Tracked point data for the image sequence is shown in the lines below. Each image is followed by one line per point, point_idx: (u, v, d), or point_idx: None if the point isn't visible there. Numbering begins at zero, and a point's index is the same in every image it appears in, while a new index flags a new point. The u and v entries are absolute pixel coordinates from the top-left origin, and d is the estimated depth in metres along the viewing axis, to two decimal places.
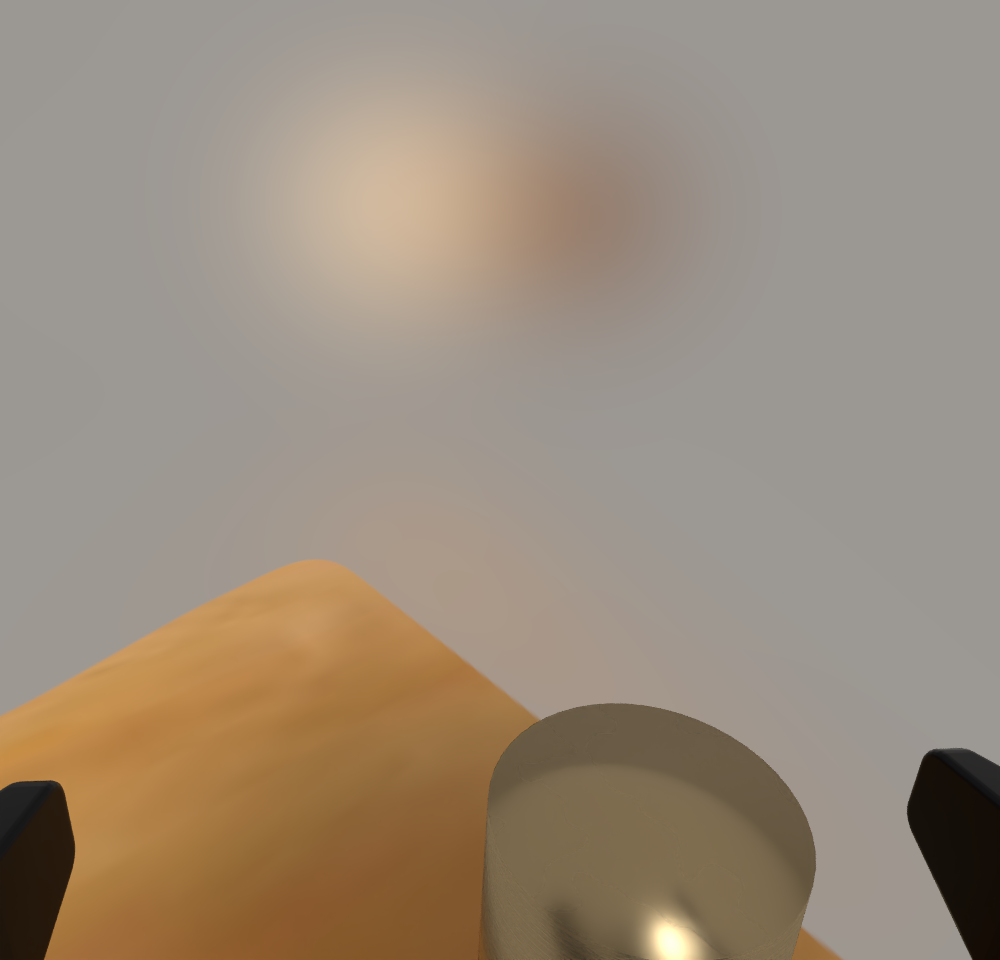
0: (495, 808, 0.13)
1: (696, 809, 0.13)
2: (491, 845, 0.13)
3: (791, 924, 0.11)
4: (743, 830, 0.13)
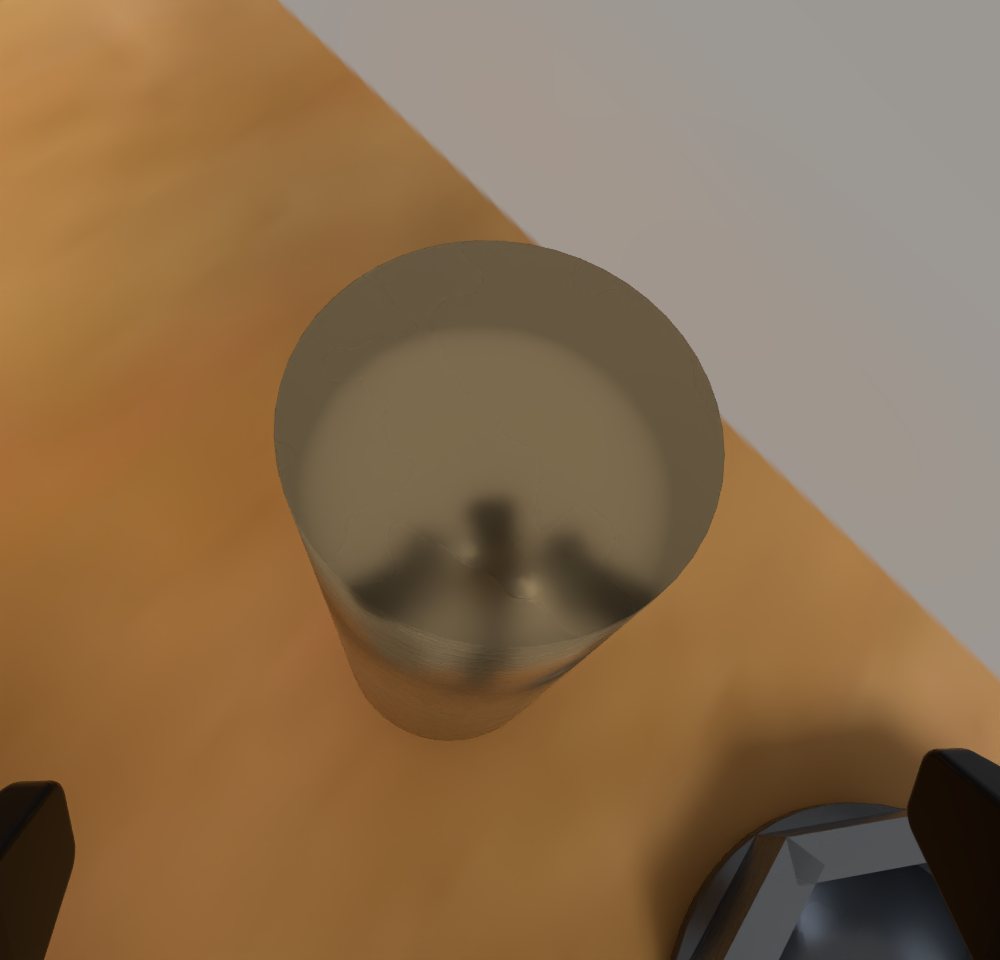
0: (284, 427, 0.09)
1: (576, 420, 0.10)
2: None
3: (667, 586, 0.09)
4: (632, 452, 0.09)
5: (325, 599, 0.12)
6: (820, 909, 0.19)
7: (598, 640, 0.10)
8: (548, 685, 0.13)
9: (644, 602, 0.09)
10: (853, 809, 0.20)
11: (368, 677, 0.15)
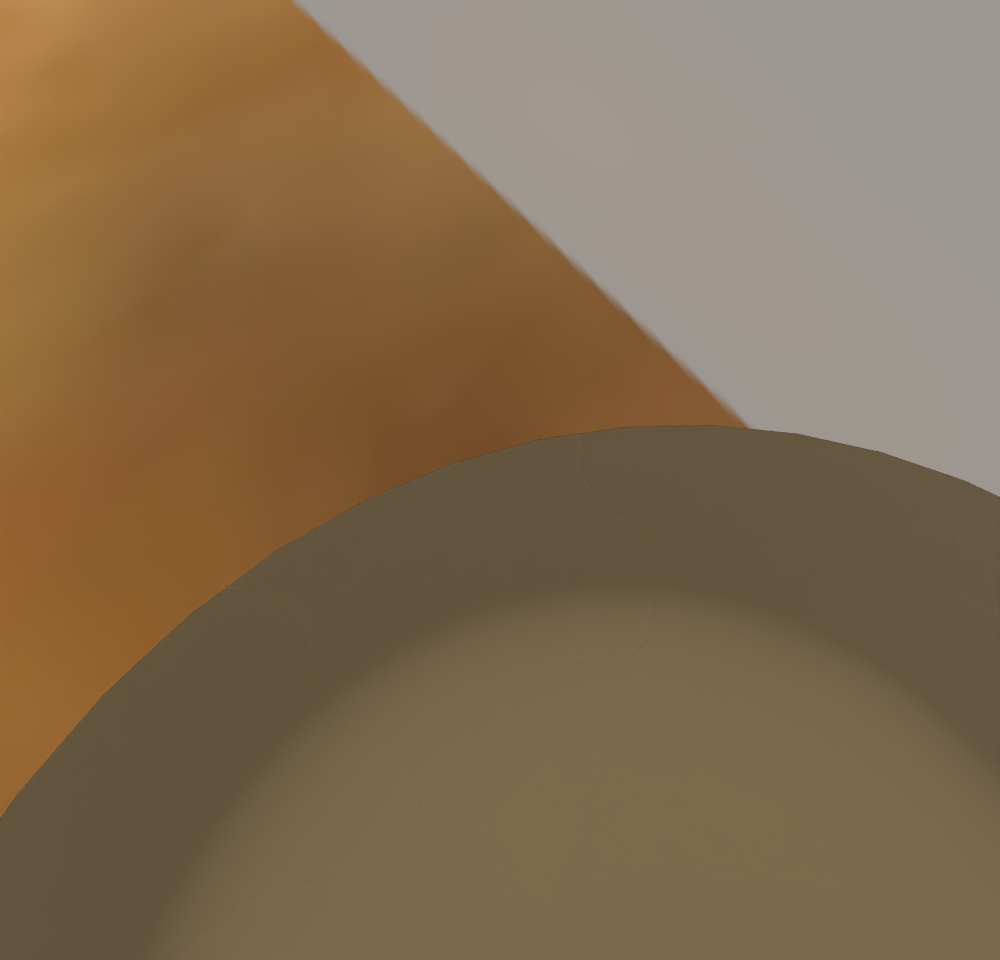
0: None
1: None
2: None
3: None
4: None
5: None
6: None
7: None
8: None
9: None
10: None
11: None
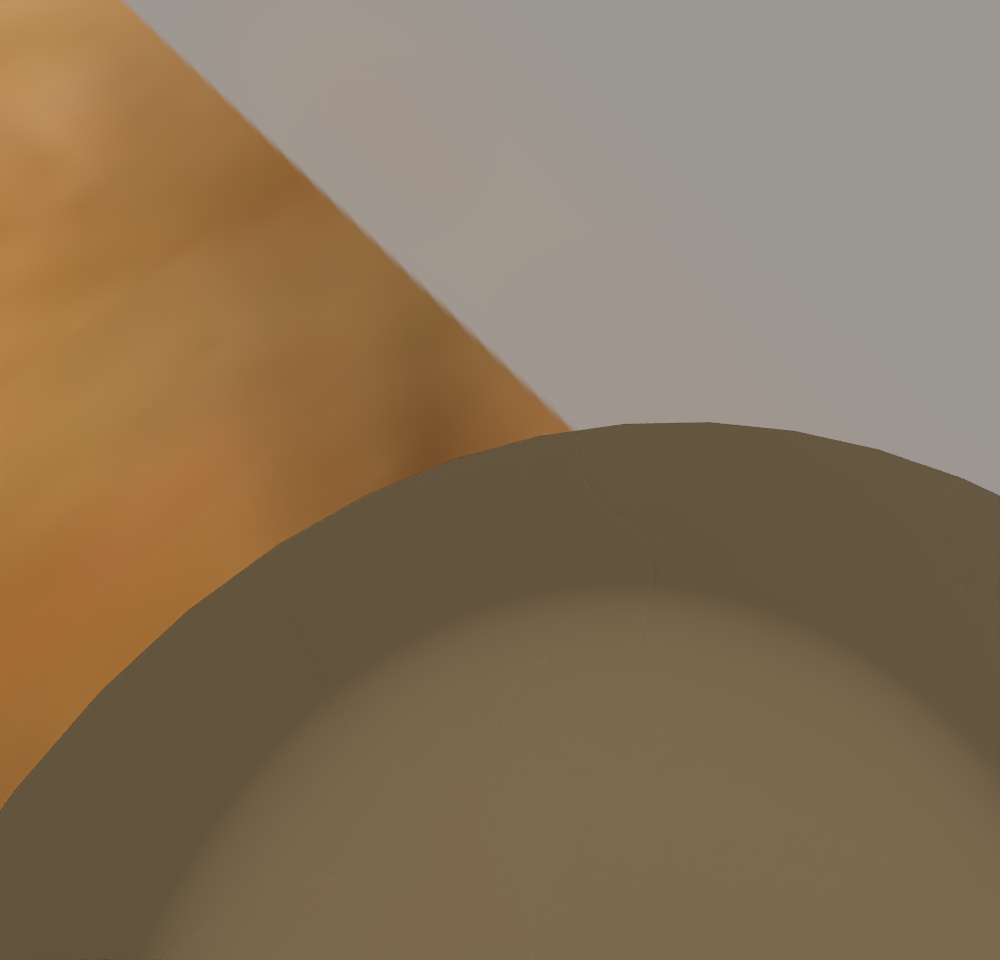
0: None
1: None
2: None
3: None
4: None
5: None
6: None
7: None
8: None
9: None
10: None
11: None
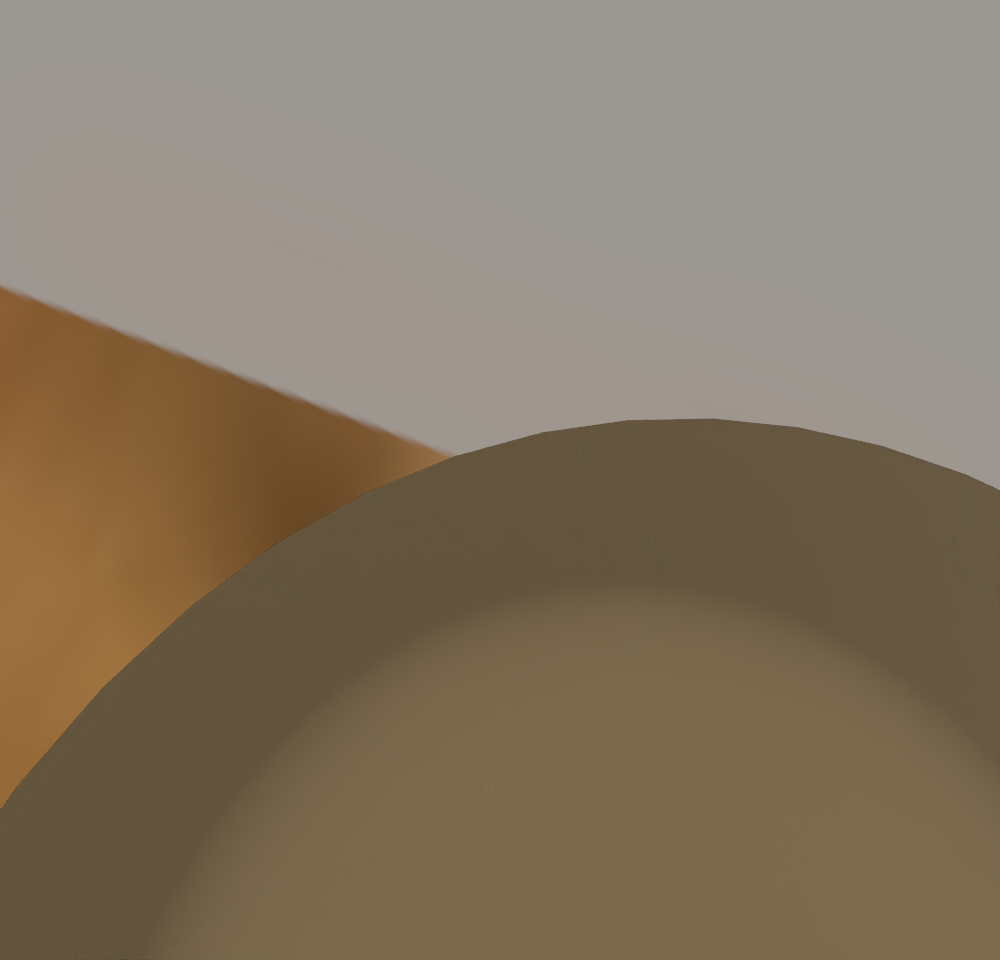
0: None
1: None
2: None
3: None
4: None
5: None
6: None
7: None
8: None
9: None
10: None
11: None
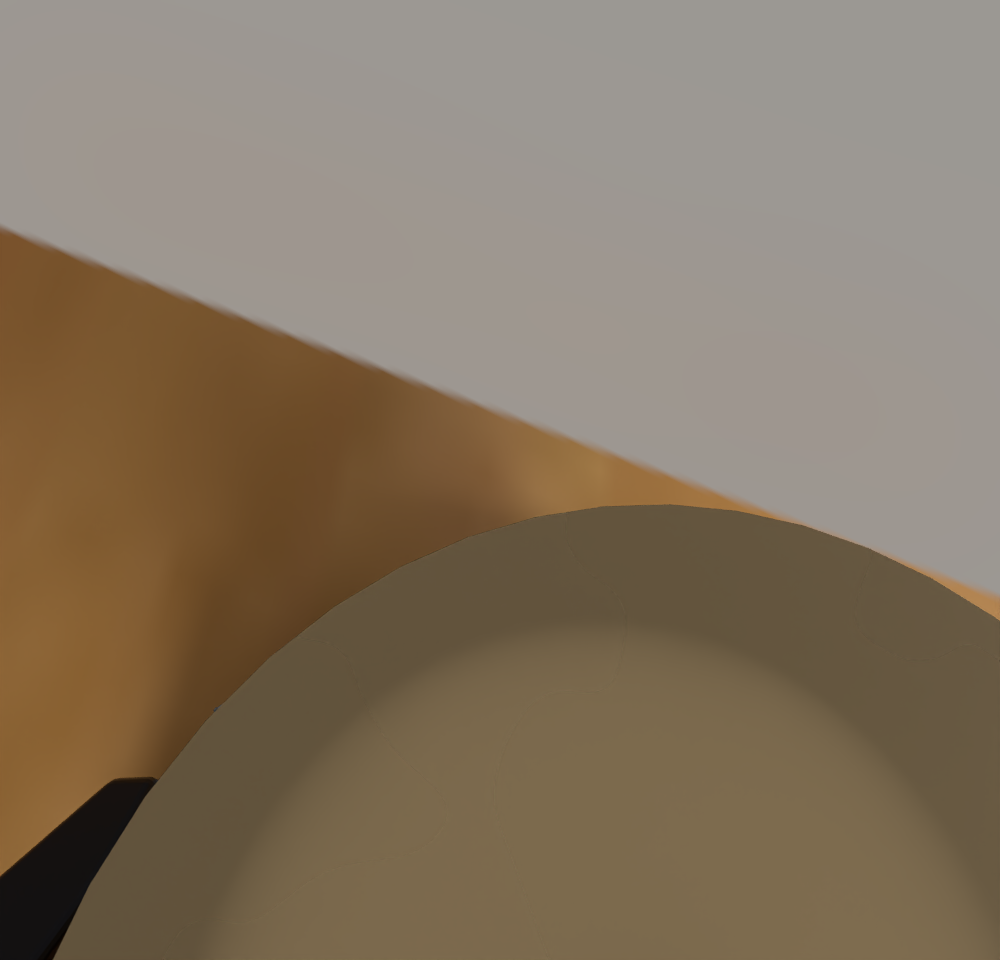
0: None
1: None
2: None
3: None
4: None
5: None
6: None
7: None
8: None
9: None
10: None
11: None
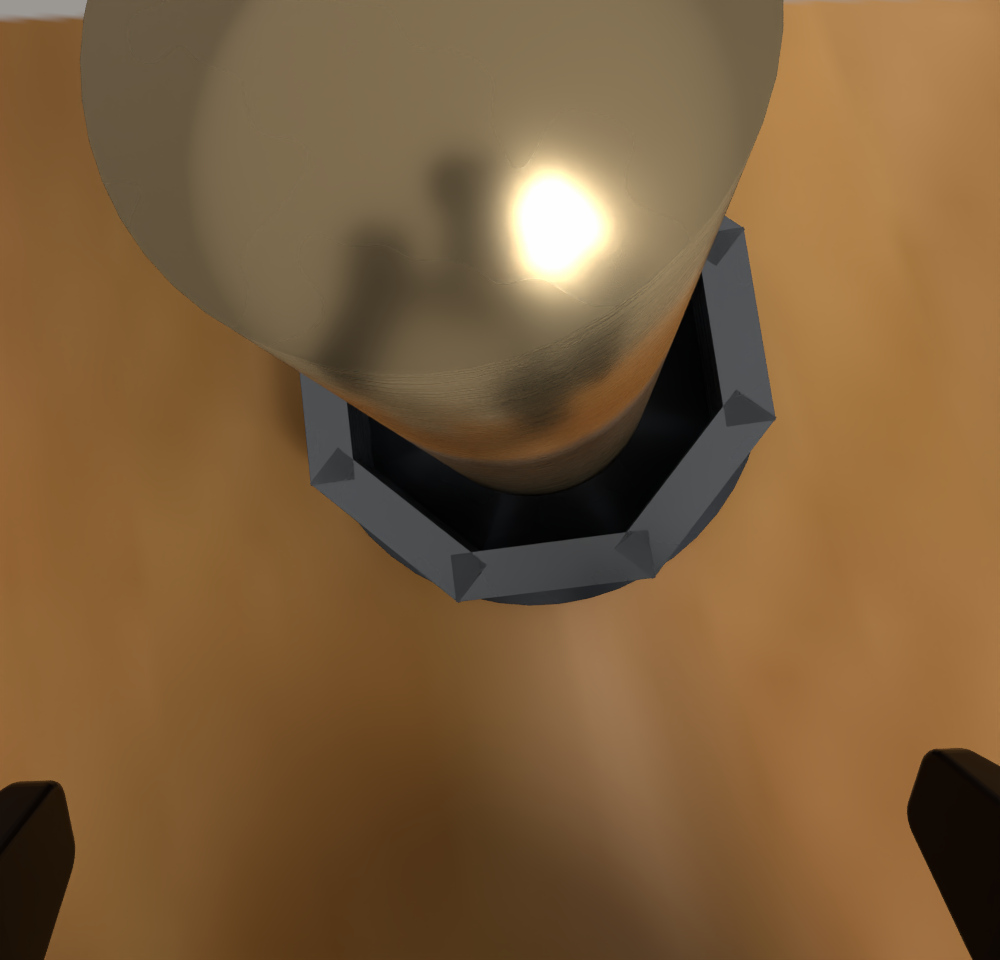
0: (108, 159, 0.06)
1: None
2: None
3: (732, 185, 0.06)
4: None
5: None
6: None
7: (658, 309, 0.07)
8: (635, 397, 0.11)
9: (701, 221, 0.06)
10: None
11: (434, 456, 0.13)
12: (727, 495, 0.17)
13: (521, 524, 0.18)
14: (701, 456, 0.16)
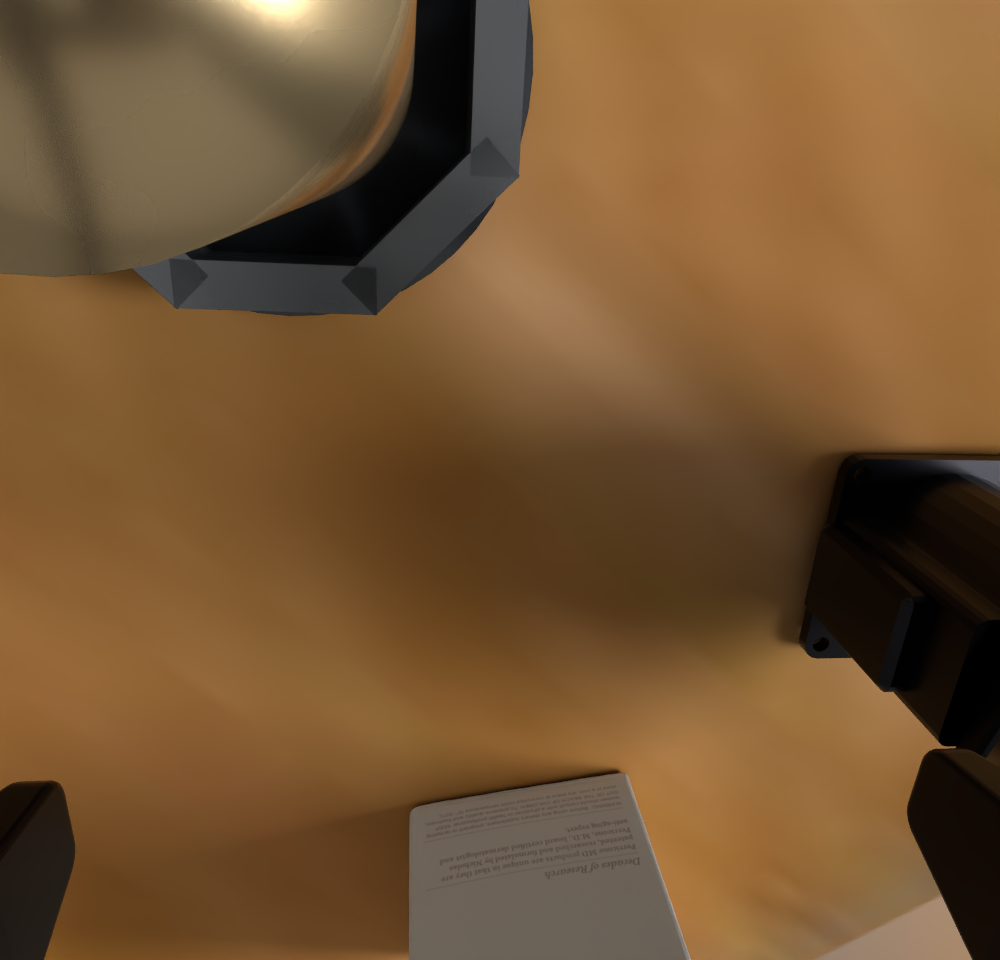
0: None
1: None
2: None
3: None
4: None
5: None
6: None
7: None
8: (414, 33, 0.10)
9: None
10: None
11: None
12: (531, 48, 0.16)
13: (375, 208, 0.17)
14: (489, 29, 0.15)
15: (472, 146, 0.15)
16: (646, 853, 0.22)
